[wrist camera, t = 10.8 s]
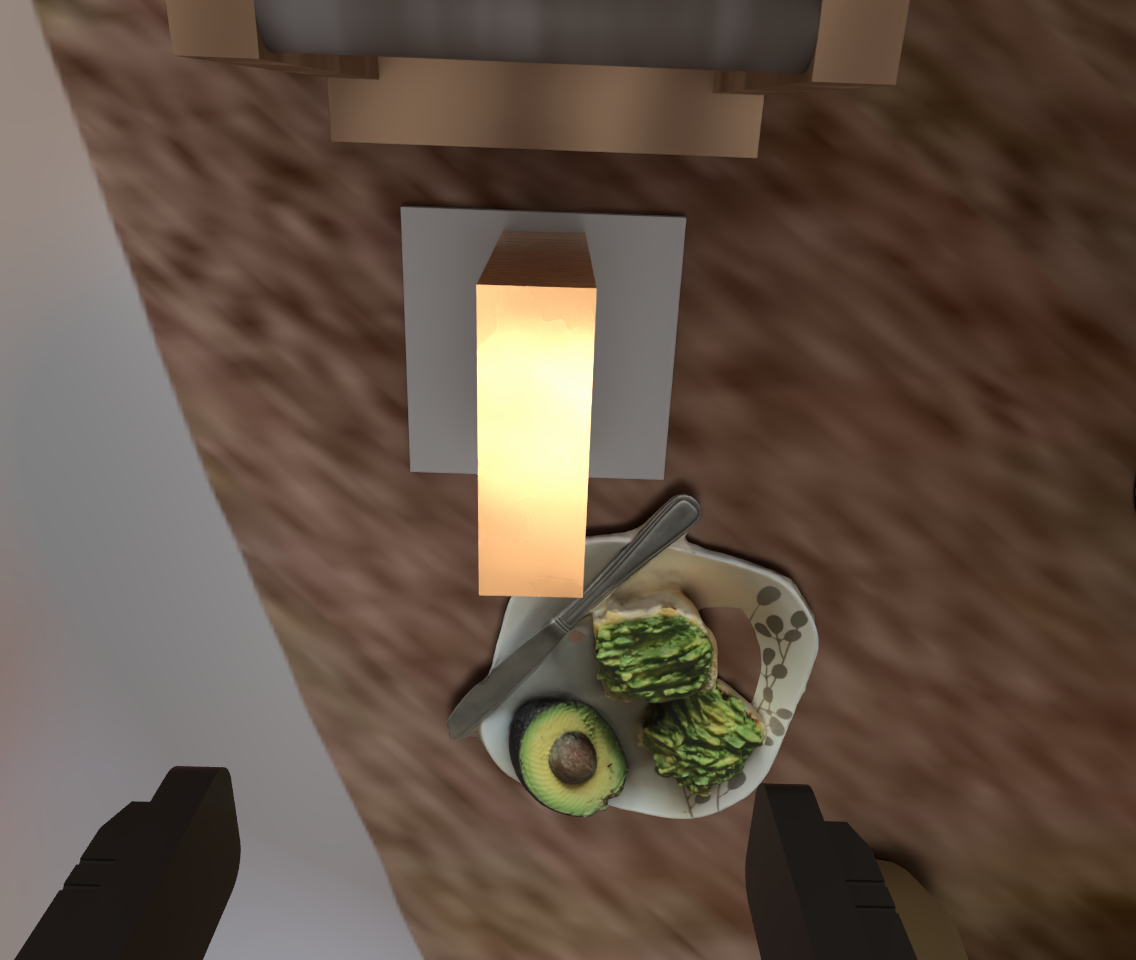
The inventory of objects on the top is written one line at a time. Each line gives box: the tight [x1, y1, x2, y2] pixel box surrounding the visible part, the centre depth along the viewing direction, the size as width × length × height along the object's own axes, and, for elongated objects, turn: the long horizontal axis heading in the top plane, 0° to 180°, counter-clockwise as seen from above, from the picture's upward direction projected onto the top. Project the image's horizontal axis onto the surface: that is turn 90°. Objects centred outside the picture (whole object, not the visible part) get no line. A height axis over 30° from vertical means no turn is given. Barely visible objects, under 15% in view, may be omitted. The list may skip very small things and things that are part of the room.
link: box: [476, 230, 597, 598], centre depth 33 cm, size 4×10×12 cm, turn 178°
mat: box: [401, 206, 686, 480], centre depth 39 cm, size 12×12×1 cm
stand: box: [166, 0, 910, 158], centre depth 27 cm, size 17×7×16 cm, turn 88°
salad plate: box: [447, 494, 819, 819], centre depth 44 cm, size 19×18×5 cm
